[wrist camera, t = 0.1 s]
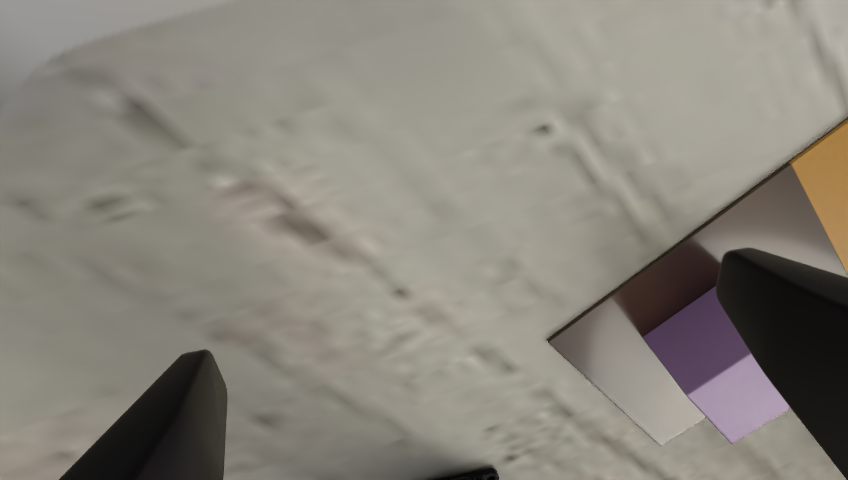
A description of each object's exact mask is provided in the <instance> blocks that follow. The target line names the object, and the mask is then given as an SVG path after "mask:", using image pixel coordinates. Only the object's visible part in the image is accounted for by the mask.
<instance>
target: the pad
mask: <svg viewBox="0 0 848 480" xmlns="http://www.w3.org/2000/svg"><path fill="white" fill-rule="evenodd" d="M789 163H790V164H791V165H792V167H793V169H794V171H795V173H796V175H797V177H798V179H799V181H800V183H801V185H802V187H803V189H804V191H805V193H806V195H807V197H808V199H809V201H810V203H811V204H812V206H813V208H814V210H815V212H816V214H817V216H818V218H819V220H820V222H821V224H822V226H823V228H824V230H825V232H826V234H827V236H828V238H829V240H830V242H831V244H832V246H833V248H834V250H835V252H836V254H837V255H838V257H839V259H840V261H841V263H842V265H843V267H844V269H845V271H846V273H847V275H848V119H847V120H846V121H844V122H843V123H842V124H840V125H839V126H837V127H836V128H835V129H833V130H832V131H831V132H829V133H828V134H827V135H825V136H824V137H823V138H821V139H820V140H818V141H817V142H816V143H814V144H813V145H812V146H810V147H809V148H808V149H806V150H805V151H804V152H802V153H801V154H799V155H798V156H797V157H795V158H794V159H793V160H791V161H790V162H789Z"/></svg>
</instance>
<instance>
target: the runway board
mask: <svg viewBox="0 0 848 480" xmlns="http://www.w3.org/2000/svg"><path fill="white" fill-rule="evenodd" d="M746 247H751V248H755V249H758V250H761V251H765V252H768V253H771V254H774V255H777V256H781V257H784V258H787V259H790V260H793V261H797V262H800V263H803V264H806V265H809V266H813V267H816V268H819V269H822V270H826V271H829V272H832V273H835V274H838V275H842V276H845V277H848V275H847V273H846V271H845V269H844V267H843V265H842V263H841V261H840V259H839V257H838V255H837V254H836V252H835V250H834V248H833V246H832V244H831V242H830V240H829V238H828V236H827V234H826V232H825V230H824V228H823V226H822V224H821V222H820V220H819V218H818V216H817V214H816V212H815V210H814V208H813V206H812V204H811V203H810V201H809V199H808V197H807V195H806V193H805V191H804V189H803V187H802V185H801V183H800V181H799V179H798V177H797V175H796V173H795V171H794V169H793V167H792V165H791V164H790V163H787V164H786V165H785V166H783V167H782V168H780V169H779V170H778V171H776V172H775V173H774V174H772V175H771V176H770V177H768V178H767V179H765V180H764V181H763V182H761V183H760V184H759V185H757V186H756V187H755V188H753V189H752V190H751V191H749V192H748V193H746V194H745V195H744V196H742V197H741V198H740V199H738V200H737V201H736V202H734V203H733V204H732V205H730V206H729V207H727V208H726V209H725V210H723V211H722V212H721V213H719V214H718V215H717V216H715V217H714V218H713V219H711V220H710V221H708V222H707V223H706V224H704V225H703V226H702V227H700V228H699V229H698V230H696V231H695V232H694V233H692V234H691V235H689V236H688V237H687V238H685V239H684V240H683V241H681V242H680V243H679V244H677V245H676V246H674V247H673V248H672V249H670V250H669V251H668V252H666V253H665V254H664V255H662V256H661V257H660V258H658V259H657V260H655V261H654V262H653V263H651V264H650V265H649V266H647V267H646V268H645V269H643V270H642V271H641V272H639V273H638V274H636V275H635V276H634V277H632V278H631V279H630V280H628V281H627V282H626V283H624V284H623V285H622V286H620V287H619V288H617V289H616V290H615V291H613V292H612V293H611V294H609V295H608V296H607V297H605V298H604V299H603V300H601V301H600V302H598V303H597V304H596V305H594V306H593V307H592V308H590V309H589V310H588V311H586V312H585V313H583V314H582V315H581V316H579V317H578V318H577V319H575V320H574V321H573V322H571V323H570V324H569V325H567V326H566V327H564V328H563V329H562V330H560V331H559V332H558V333H556V334H555V335H554V336H552V337H551V338H550V339H548V340H547V341H548V343H549V344H550V345H551V346H553V347H554V348H555V349H556V350H557V351H558V352H559V353H560V354H561V355H562V356H563V357H565V358H566V359H567V360H568V361H569V362H570V363H571V364H572V365H573V366H574V367H575V368H577V369H578V370H579V371H580V372H581V373H582V374H583V375H584V376H585V377H586V378H587V379H588V380H590V381H591V382H592V383H593V384H594V385H595V386H596V387H597V388H598V389H599V390H600V391H602V392H603V393H604V394H605V395H606V396H607V397H608V398H609V399H610V400H611V401H612V402H614V403H615V404H616V405H617V406H618V407H619V408H620V409H621V410H622V411H623V412H624V413H625V414H627V415H628V416H629V417H630V418H631V419H632V420H633V421H634V422H635V423H636V424H637V425H639V426H640V427H641V428H642V429H643V430H644V431H645V432H646V433H647V434H648V435H649V436H651V437H652V438H653V439H654V440H655V441H656V442H657V443H658V444H659V445H660V446H662V445H663V444H665V443H666V442H668V441H670V440H671V439H673V438H674V437H676V436H677V435H679V434H681V433H682V432H684V431H685V430H687V429H688V428H690V427H692V426H693V425H695V424H696V423H698V422H699V421H701V420H703V419H704V418H706V416H705V415H704V414H703V413H702V412H701V411H700V410H699V409H698V408H697V407H696V406H695V404H694V403H693V402H692V401H691V400H690V399H689V398H688V397H687V396H686V395H685V393H684V392H683V391H682V390H681V388H680V387H679V386H678V384H677V383H676V382H675V380H674V379H673V378H672V376H671V375H670V374H669V372H668V371H667V370H666V368H665V367H664V366H663V364H662V363H661V362H660V360H659V359H658V358H657V357H656V355H655V354H654V353H653V351H652V350H651V349H650V347H649V346H648V345H647V343H646V342H645V341H644V339H643V336H645V335H646V334H648V333H649V332H651V331H652V330H653V329H655V328H656V327H658V326H659V325H661V324H662V323H663V322H665V321H666V320H668V319H669V318H671V317H672V316H673V315H675V314H676V313H678V312H679V311H681V310H682V309H683V308H685V307H686V306H688V305H689V304H691V303H692V302H693V301H695V300H696V299H698V298H699V297H701V296H702V295H703V294H705V293H706V292H708V291H709V290H711V289H712V288H713V287H715V286H716V284H717V280H718V275H719V270H720V266H721V261H722V257H723V255H724V254H725V253H726V252H728V251H730V250H735V249H740V248H746Z"/></svg>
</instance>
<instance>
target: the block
mask: <svg viewBox="0 0 848 480" xmlns="http://www.w3.org/2000/svg"><path fill="white" fill-rule="evenodd" d="M643 339H644V341H645V342H646V343H647V345H648V346H649V347H650V349H651V350H652V351H653V353H654V354H655V355H656V357H657V358H658V359H659V360H660V362H661V363H662V364H663V366H664V367H665V368H666V370H667V371H668V372H669V374H670V375H671V376H672V378H673V379H674V380H675V382H676V383H677V384H678V386H679V387H680V388H681V390H682V391H683V392H684V393H685V395H686V396H687V397H688V398H689V399H690V400H691V401H692V402H693V403H694V404H695V406H696V407H697V408H698V409H699V410H700V411H701V412H702V413H703V414H704V415H705V416H706V417H707V418H708V419H709V421H710V422H711V423H712V424H713V425H714V426H715V427H716V428H717V429H718V430H719V431H720V432H721V433H722V434H723V435H724V437H725V438H726V439H727V440H728V441H729V442H730V443H731V444H733V443H735V442H737V441H738V440H740V439H741V438H743V437H745V436H746V435H748V434H750V433H751V432H753V431H754V430H756V429H758V428H759V427H761V426H763V425H764V424H766V423H767V422H769V421H771V420H772V419H774V418H776V417H777V416H779V415H780V414H782V413H784V412H785V411H787V410H789V409H790V406H789V405H788V404H787V402H786V401H785V400H784V399H783V397H782V396H781V395H780V393H779V392H778V391H777V390H776V388H775V387H774V386H773V384H772V383H771V382H770V380H769V379H768V378H767V376H766V375H765V374H764V372H763V371H762V369H761V368H760V366H759V365H758V363H757V362H756V360H755V359H754V357H753V356H752V354H751V353H750V351H749V349H748V348H747V346H746V345H745V343H744V341H743V340H742V338H741V337H740V335H739V333H738V332H737V330H736V329H735V327H734V325H733V324H732V322H731V321H730V319H729V317H728V316H727V314H726V313H725V311H724V310H723V308H722V306H721V305H720V303H719V301H718V299H717V296H716V286H715V287H713V288H712V289H711V290H709V291H708V292H706V293H705V294H703V295H702V296H701V297H699V298H698V299H696V300H695V301H693V302H692V303H691V304H689V305H688V306H686V307H685V308H683V309H682V310H681V311H679V312H678V313H676V314H675V315H673V316H672V317H671V318H669V319H668V320H666V321H665V322H663V323H662V324H661V325H659V326H658V327H656V328H655V329H653V330H652V331H651V332H649V333H648V334H646V335H645V336H643Z"/></svg>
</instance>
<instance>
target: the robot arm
mask: <svg viewBox="0 0 848 480" xmlns="http://www.w3.org/2000/svg"><path fill="white" fill-rule="evenodd" d="M716 296H717V299H718V301H719V303H720V305H721V306H722V308H723V310H724V311H725V313H726V314H727V316H728V317H729V319H730V321H731V322H732V324H733V325H734V327H735V329H736V330H737V332H738V333H739V335H740V337H741V338H742V340H743V341H744V343H745V345H746V346H747V348H748V349H749V351H750V353H751V354H752V356H753V357H754V359H755V360H756V362H757V363H758V365H759V366H760V368H761V369H762V371H763V372H764V374H765V375H766V376H767V378H768V379H769V380H770V382H771V383H772V384H773V386H774V387H775V388H776V390H777V391H778V392H779V393H780V395H781V396H782V397H783V399H784V400H785V401H786V402H787V404H788V405H789V406H790V408H791V409H792V410H793V411H794V413H795V414H796V415H797V416H798V418H799V419H800V420H801V422H802V423H803V424H804V425H805V427H806V428H807V429H808V431H809V432H810V433H811V434H812V436H813V437H814V438H815V440H816V441H817V442H818V443H819V445H820V446H821V447H822V449H823V450H824V451H825V452H826V454H827V455H828V456H829V457H830V459H831V460H832V461H833V463H834V464H835V465H836V466H837V468H838V469H839V470H840V472H841V473H842V474H843V475H844V477H845V478H846V479H847V480H848V277H845V276H842V275H838V274H835V273H832V272H829V271H826V270H822V269H819V268H816V267H813V266H809V265H806V264H803V263H800V262H797V261H793V260H790V259H787V258H784V257H781V256H777V255H774V254H771V253H768V252H765V251H761V250H758V249H755V248H751V247H746V248H740V249H735V250H730V251H728V252H726V253H725V254H724V255H723V257H722V261H721V266H720V270H719V275H718V280H717V284H716ZM226 416H227V389H226V385H225V382H224V380H223V377H222V375H221V373H220V370H219V368H218V366H217V364H216V361H215V359H214V357H213V355H212V353H211V352H210V351H208V350H199V351H194V352H188V353H185V354H182V355H181V356H180V357H179V358H178V359H177V360H176V361H175V362H174V363H173V364H172V365H171V366H170V367H169V368H168V369H167V370H166V371H165V372H164V373H163V374H162V375H161V376H160V377H159V378H158V379H157V380H156V381H155V382H154V383H153V384H152V385H151V386H150V387H149V388H148V389H147V390H146V391H145V392H144V393H143V394H142V395H141V396H140V398H139V399H138V400H137V401H136V402H135V403H134V404H133V405H132V406H131V407H130V408H129V409H128V410H127V411H126V412H125V413H124V414H123V415H122V416H121V417H120V418H119V419H118V420H117V421H116V422H115V423H114V424H113V425H112V426H111V427H110V428H109V429H108V430H107V431H106V432H105V433H104V434H103V435H102V436H101V437H100V438H99V439H98V440H97V441H96V442H95V443H94V444H93V445H92V446H91V447H90V448H89V449H88V450H87V451H86V452H85V454H84V455H83V456H82V457H81V458H80V459H79V460H78V461H77V462H76V463H75V464H74V465H73V466H72V467H71V468H70V469H69V470H68V471H67V472H66V473H65V474H64V475H63V476H62V477H61V478H60V479H59V480H223V475H224V457H225V437H226ZM437 480H499V476H498V473H497V470H496V469H494V468H489V469H484V470H480V471H475V472H470V473H465V474H461V475H456V476H451V477H447V478H442V479H437Z"/></svg>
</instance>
